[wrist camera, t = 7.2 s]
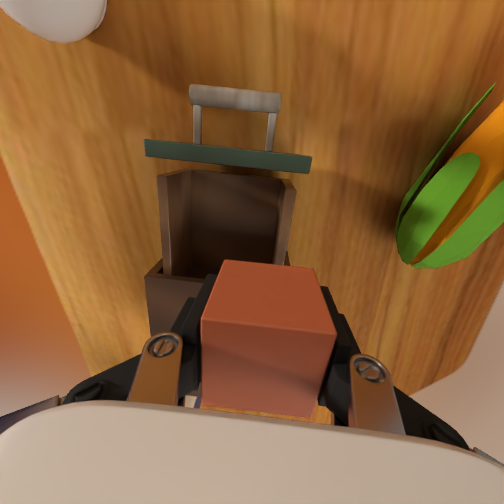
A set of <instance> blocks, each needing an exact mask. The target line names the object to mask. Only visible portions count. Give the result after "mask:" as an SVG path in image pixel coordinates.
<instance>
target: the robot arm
mask: <svg viewBox="0 0 504 504" xmlns="http://www.w3.org/2000/svg"><path fill="white" fill-rule="evenodd" d="M217 277H218V275H212V274H208V275H207V276H206V279H205V281H204V283H203V285H202V287H201V289H200V291H199V293H198V295H197V297H196V298H194V297H188V298H187V300H186V302H185V304H184V305H183V307H182V309H181V311H180V313H179V315H178V316H177V318H176V320H175V322H174V324H173V326H172V328H171V329H170V331H169V332H162V333H158V334H156V335H154V336H152V337H151V338H149V339H148V340H147V341H146V343H145V345H144V347H143V350H142V353H141V354H140V355H137V356H135V357H133V358H131V359H129V360H127V361H125V362H122V363H120V364H118V365H116V366H114V367H112V368H110V369H108V370H105V371H103V372H101V373H99V374H97V375H95V376H93V377H90V378H88V379H86V380H84V381H82V382H81V383H79V384H77V385H76V386H75V387H74V388H73V389H71V390H70V392H69V393H68V394H67V396H65V397H62V398H59V395H57V396H55V397H52V398H50V399H47V400H44V401H41V402H39V403H36V404H34V405H31V406H28V407H25V408H23V409H20V410H17V411H15V412H12V413H9V414H7V415H4V416H1V417H0V504H504V464H502V463H500V462H499V461H497V460H496V459H494V458H492V457H491V456H489V455H488V454H486V453H484V452H483V451H481V450H479V449H478V448H476V447H474V448H473V449H471V448H469V447H468V445H467V444H466V442H465V440H464V439H463V438H462V437H461V436H460V435H459V433H458V432H457V431H456V430H454V429H453V428H452V427H451V426H450V425H448V424H447V423H446V422H444V421H443V420H441V419H440V418H439V417H437V416H436V415H434V414H432V413H431V412H430V411H429V410H427V409H425V408H424V407H423V406H422V405H420V404H419V403H417V402H416V401H414V400H413V399H412V398H410V397H409V396H407V395H406V394H404V393H403V392H402V391H400V390H399V389H397V388H396V387H395V386H393V384H392V380H391V376H390V374H389V371H388V370H387V368H386V367H385V366H384V365H383V364H382V363H381V362H380V361H379V360H377V359H375V358H374V357H372V356H369V355H366V354H361V352H360V350H359V347H358V345H357V343H356V341H355V338H354V336H353V334H352V332H351V329H350V327H349V325H348V323H347V320H346V318H345V316H344V315H343V314H339V313H338V311H337V308H336V306H335V303H334V301H333V299H332V296H331V294H330V291H329V289H328V287H325V286H320V288H321V291H322V294H323V296H324V299H325V302H326V304H327V307H328V310H329V313H330V315H331V318H332V321H333V324H334V326H335V329H336V332H337V337H336V340H335V343H334V346H333V350H332V353H331V356H330V359H329V363H328V366H327V369H326V372H325V376H324V379H323V382H322V385H321V388H320V392H319V395H318V398H317V400H318V405H319V406H326V407H327V408H328V409H329V410H330V411H331V425H328V424H320V423H313V422H305V421H297V420H289V419H281V418H273V417H265V416H256V415H248V414H240V413H232V412H223V411H215V410H206V409H198V408H189V407H185V398H186V396H185V395H187V394H189V393H190V392H192V391H193V390H194V391H198V387H199V384H200V383H201V317H202V314H203V312H204V309H205V307H206V304H207V302H208V299H209V297H210V294H211V292H212V289H213V287H214V284H215V282H216V279H217Z"/></svg>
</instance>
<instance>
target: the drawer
mask: <svg viewBox="0 0 504 504" xmlns="http://www.w3.org/2000/svg"><path fill="white" fill-rule="evenodd" d="M281 97H282V93H280V92H270V91H260V90H250V89H240V88H230V87H220V86H210V85H200V84H190V87H189V98H190V102H191V104H192V105H193V143H185V142H174V141H162V140H150V139H144V146H145V156H146V157H155V158H164V159H174V160H183V161H192V162H202V163H211V164H220V165H230V166H239V167H248V168H258V169H267V170H276V171H286V172H295V173H304V174H309V172H310V167H311V161H312V157H311V156H305V155H299V154H289V153H280V152H272V148H273V140H274V132H275V124H276V115H277V114H279V112H280V105H281ZM202 106H205V107H215V108H225V109H235V110H245V111H255V112H265V113H269V118H268V127H267V136H266V146H265V151H261V150H251V149H242V148H232V147H223V146H213V145H204V144H202ZM157 183H158V198H159V212H160V227H161V241H162V256H163V270H164V274H165V275H173V276H182V277H190V278H199V279H206V276H207V275H208V274H212V275H218V274H219V272H220V269H221V267H222V264H223V262H224V260H236V261H245V262H255V263H265V264H274V265H284V261H285V255H286V249H287V243H288V237H289V231H290V225H291V220H292V214H293V208H294V202H295V196H296V189H295V188H294V186H293V185H292V183H291V182H290V180H289V179H280V178H271V177H262V176H252V175H243V174H234V173H224V172H215V171H206V170H197V169H183V170H179V171H174V172H170V173H166V174H161V175H157Z"/></svg>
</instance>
